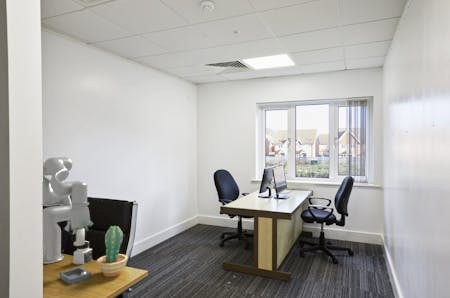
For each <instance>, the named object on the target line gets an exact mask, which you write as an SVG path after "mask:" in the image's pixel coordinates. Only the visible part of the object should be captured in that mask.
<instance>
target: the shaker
mask: <svg viewBox="0 0 450 298" xmlns="http://www.w3.org/2000/svg"><path fill="white" fill-rule="evenodd" d="M75 234H76V242H73V246H75V247H77V246H81V245H84V244H85V241H86V239H85V228H84V227H83V226H80V227H79V228H76V231H75Z"/></svg>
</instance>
